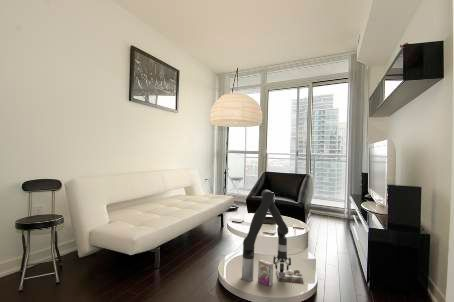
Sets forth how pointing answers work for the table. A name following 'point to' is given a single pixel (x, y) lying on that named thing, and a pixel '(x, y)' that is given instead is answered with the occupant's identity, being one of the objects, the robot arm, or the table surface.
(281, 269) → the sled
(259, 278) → the candy bar box
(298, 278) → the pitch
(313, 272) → the table surface
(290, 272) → the ball
